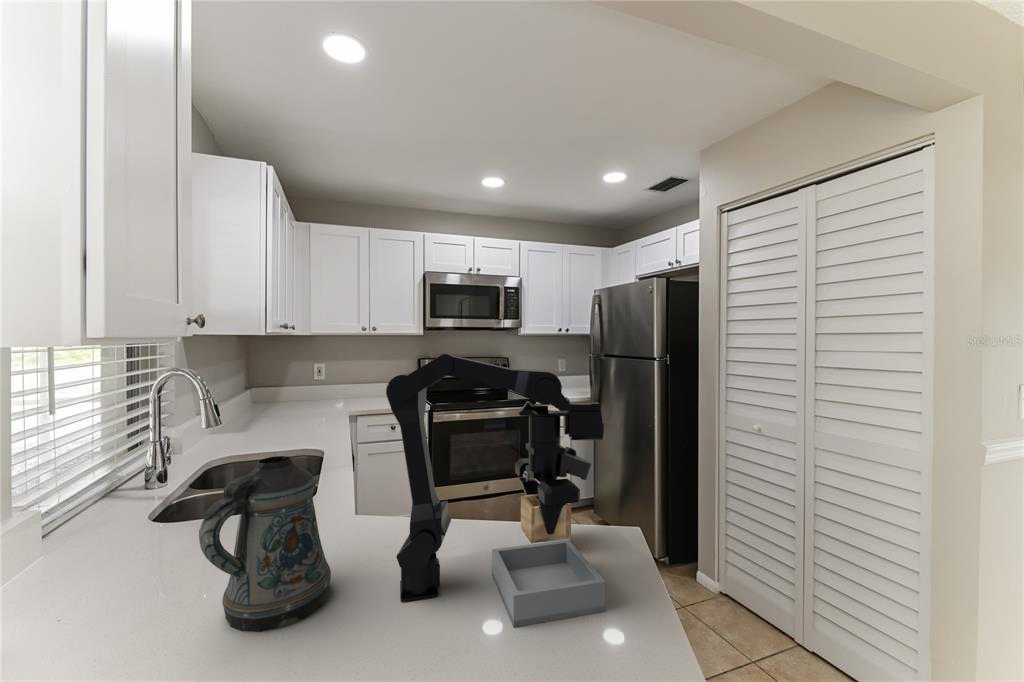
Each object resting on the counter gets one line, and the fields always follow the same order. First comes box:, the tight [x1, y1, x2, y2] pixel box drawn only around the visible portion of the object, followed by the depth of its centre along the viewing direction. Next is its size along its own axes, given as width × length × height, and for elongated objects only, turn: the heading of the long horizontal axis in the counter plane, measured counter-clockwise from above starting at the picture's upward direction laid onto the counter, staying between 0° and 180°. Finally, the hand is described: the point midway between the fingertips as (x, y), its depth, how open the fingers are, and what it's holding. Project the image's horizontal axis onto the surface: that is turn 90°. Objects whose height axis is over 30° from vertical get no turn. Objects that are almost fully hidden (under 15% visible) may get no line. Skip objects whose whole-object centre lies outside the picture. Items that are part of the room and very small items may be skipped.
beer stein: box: [198, 455, 332, 633], centre depth 74 cm, size 16×19×25 cm
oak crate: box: [520, 494, 569, 544], centre depth 78 cm, size 7×6×6 cm
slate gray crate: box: [491, 540, 606, 628], centre depth 78 cm, size 16×16×5 cm
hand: (544, 526), depth 78 cm, fingers closed on oak crate, 6 cm apart
